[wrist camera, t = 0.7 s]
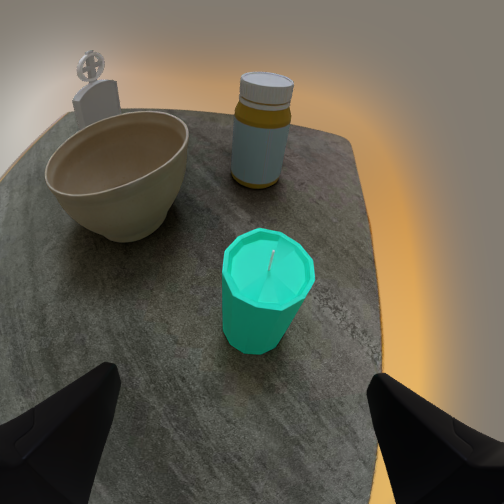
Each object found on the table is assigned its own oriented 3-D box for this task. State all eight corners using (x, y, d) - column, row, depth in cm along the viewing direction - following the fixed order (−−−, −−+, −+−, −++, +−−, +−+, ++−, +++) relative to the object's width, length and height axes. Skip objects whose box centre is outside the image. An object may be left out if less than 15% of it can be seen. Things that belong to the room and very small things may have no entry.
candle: (217, 302, 27) (214, 218, 17) (275, 293, 28) (304, 210, 18) (228, 360, 23) (231, 305, 14) (291, 348, 24) (337, 287, 15)
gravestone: (82, 140, 43) (64, 60, 28) (114, 119, 48) (104, 44, 34) (89, 142, 42) (71, 59, 28) (122, 120, 48) (112, 43, 33)
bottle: (286, 187, 38) (308, 89, 26) (238, 194, 36) (247, 88, 24) (268, 159, 42) (283, 71, 30) (225, 164, 40) (230, 71, 28)
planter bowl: (214, 190, 36) (215, 118, 27) (151, 288, 27) (121, 215, 18) (123, 166, 38) (110, 106, 29) (56, 241, 29) (21, 178, 20)
